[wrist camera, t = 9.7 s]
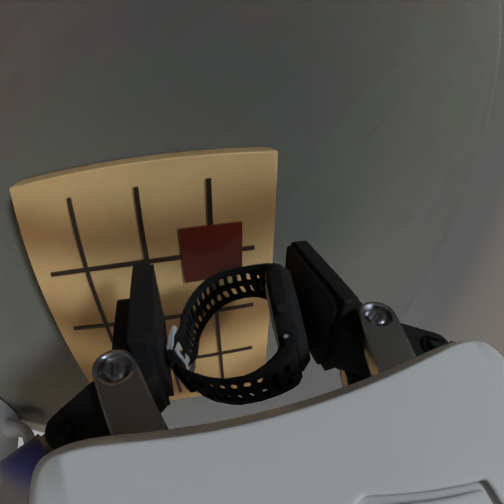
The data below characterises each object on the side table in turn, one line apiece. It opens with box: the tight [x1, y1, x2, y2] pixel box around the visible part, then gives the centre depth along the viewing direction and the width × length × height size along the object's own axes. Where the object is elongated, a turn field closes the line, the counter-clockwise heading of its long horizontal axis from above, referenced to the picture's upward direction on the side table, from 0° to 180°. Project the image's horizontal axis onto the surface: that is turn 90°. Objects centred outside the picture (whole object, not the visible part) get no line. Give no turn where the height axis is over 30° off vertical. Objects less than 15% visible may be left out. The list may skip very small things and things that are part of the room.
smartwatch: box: [164, 263, 310, 405], centre depth 10 cm, size 4×5×5 cm
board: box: [10, 147, 278, 400], centre depth 15 cm, size 16×12×1 cm
